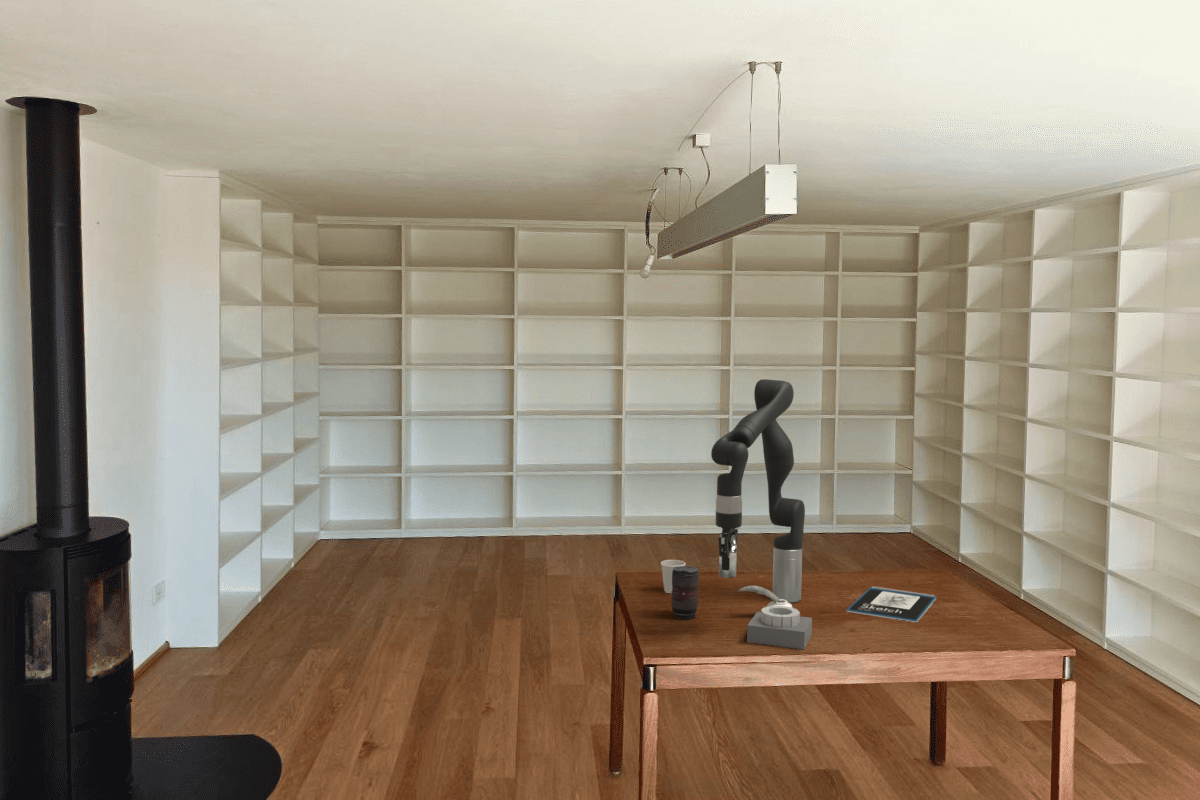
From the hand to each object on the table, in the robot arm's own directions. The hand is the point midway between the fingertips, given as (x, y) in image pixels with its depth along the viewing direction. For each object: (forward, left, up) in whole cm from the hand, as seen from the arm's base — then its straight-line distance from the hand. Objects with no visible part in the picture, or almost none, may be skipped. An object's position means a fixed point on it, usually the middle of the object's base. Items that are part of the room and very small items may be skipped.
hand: (727, 567), depth 283 cm
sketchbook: (-47, +44, -20) cm, 67 cm away
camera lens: (-10, -15, -19) cm, 27 cm away
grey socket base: (0, +16, -19) cm, 25 cm away
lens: (0, 0, -2) cm, 2 cm away
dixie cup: (-35, -26, -19) cm, 48 cm away
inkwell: (-18, +8, -19) cm, 28 cm away
